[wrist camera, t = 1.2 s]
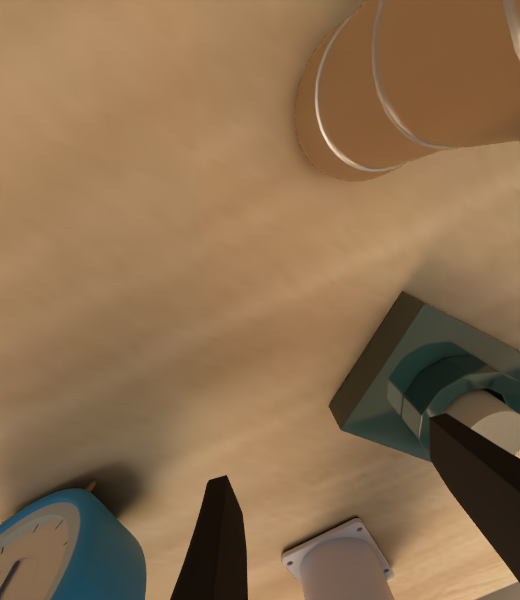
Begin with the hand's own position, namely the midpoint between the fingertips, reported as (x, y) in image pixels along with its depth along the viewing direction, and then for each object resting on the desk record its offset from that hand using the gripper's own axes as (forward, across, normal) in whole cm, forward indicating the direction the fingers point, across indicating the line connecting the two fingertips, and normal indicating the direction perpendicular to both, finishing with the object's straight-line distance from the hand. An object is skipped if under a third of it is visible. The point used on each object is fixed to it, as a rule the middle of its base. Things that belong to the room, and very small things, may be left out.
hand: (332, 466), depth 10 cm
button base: (+10, -10, +8) cm, 16 cm away
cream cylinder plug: (+6, -10, +7) cm, 14 cm away
